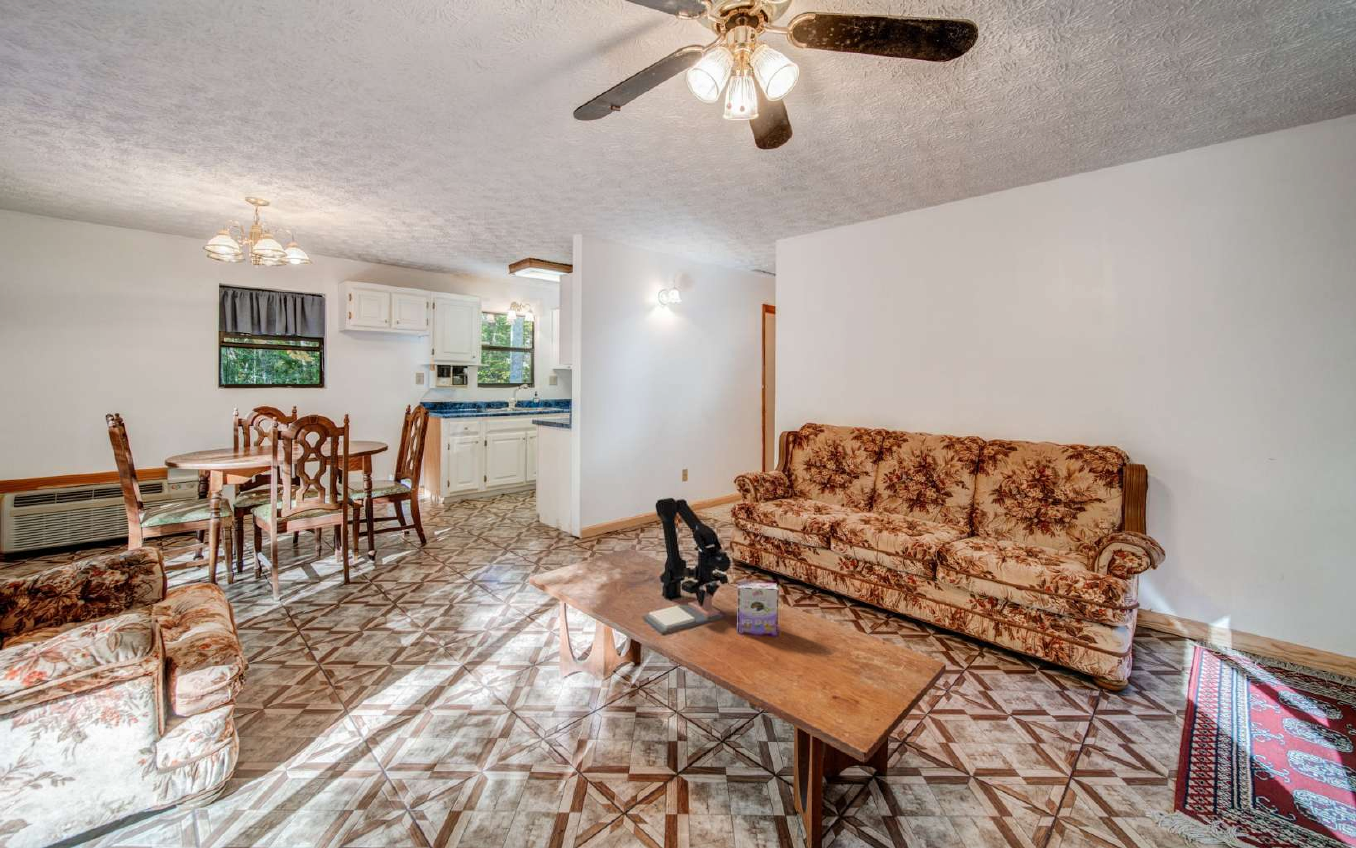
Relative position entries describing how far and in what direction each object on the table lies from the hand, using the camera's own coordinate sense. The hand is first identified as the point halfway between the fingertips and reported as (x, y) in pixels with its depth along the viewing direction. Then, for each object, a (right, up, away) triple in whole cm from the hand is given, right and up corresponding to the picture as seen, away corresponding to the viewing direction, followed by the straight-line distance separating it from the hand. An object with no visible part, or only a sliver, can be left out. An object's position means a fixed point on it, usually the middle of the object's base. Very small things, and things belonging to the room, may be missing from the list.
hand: (704, 604), depth 195 cm
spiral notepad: (-12, -2, -7) cm, 14 cm away
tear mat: (-8, -3, -5) cm, 10 cm away
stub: (0, -2, 0) cm, 2 cm away
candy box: (+18, -5, -14) cm, 23 cm away
